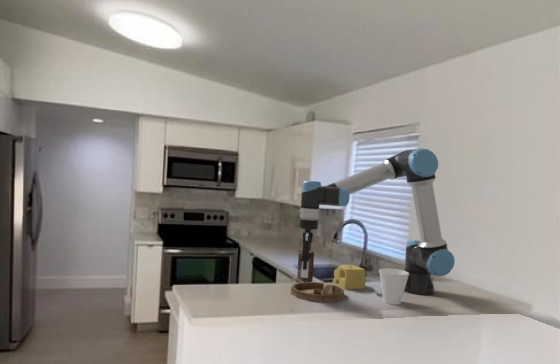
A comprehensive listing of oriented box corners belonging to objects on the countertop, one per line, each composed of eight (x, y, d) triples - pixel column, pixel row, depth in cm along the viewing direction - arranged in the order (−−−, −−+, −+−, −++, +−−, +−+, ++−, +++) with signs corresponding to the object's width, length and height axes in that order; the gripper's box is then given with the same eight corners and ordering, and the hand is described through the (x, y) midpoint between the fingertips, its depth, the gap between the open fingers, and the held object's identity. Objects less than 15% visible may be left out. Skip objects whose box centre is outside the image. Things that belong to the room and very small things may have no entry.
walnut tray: (343, 293, 182) (343, 285, 182) (343, 307, 161) (344, 298, 161) (294, 288, 185) (294, 280, 185) (288, 301, 164) (289, 292, 164)
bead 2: (331, 297, 170) (332, 288, 170) (331, 299, 166) (332, 290, 166) (322, 296, 170) (323, 287, 170) (322, 298, 167) (322, 289, 167)
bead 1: (331, 292, 178) (332, 283, 178) (331, 294, 174) (332, 285, 174) (323, 291, 178) (323, 283, 178) (322, 293, 175) (323, 285, 175)
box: (296, 279, 175) (298, 249, 175) (305, 278, 177) (307, 249, 177) (303, 282, 170) (305, 252, 170) (313, 282, 172) (315, 252, 172)
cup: (388, 307, 166) (390, 275, 166) (371, 298, 177) (373, 268, 177) (413, 305, 170) (415, 274, 170) (394, 297, 181) (396, 268, 181)
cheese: (332, 286, 193) (333, 264, 193) (352, 285, 198) (353, 264, 198) (345, 292, 184) (346, 269, 184) (365, 291, 188) (367, 268, 188)
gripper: (301, 216, 184) (298, 269, 184) (297, 220, 164) (293, 279, 164) (319, 217, 183) (315, 271, 183) (317, 221, 163) (312, 281, 163)
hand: (305, 275), depth 173 cm, fingers closed on box, 7 cm apart
